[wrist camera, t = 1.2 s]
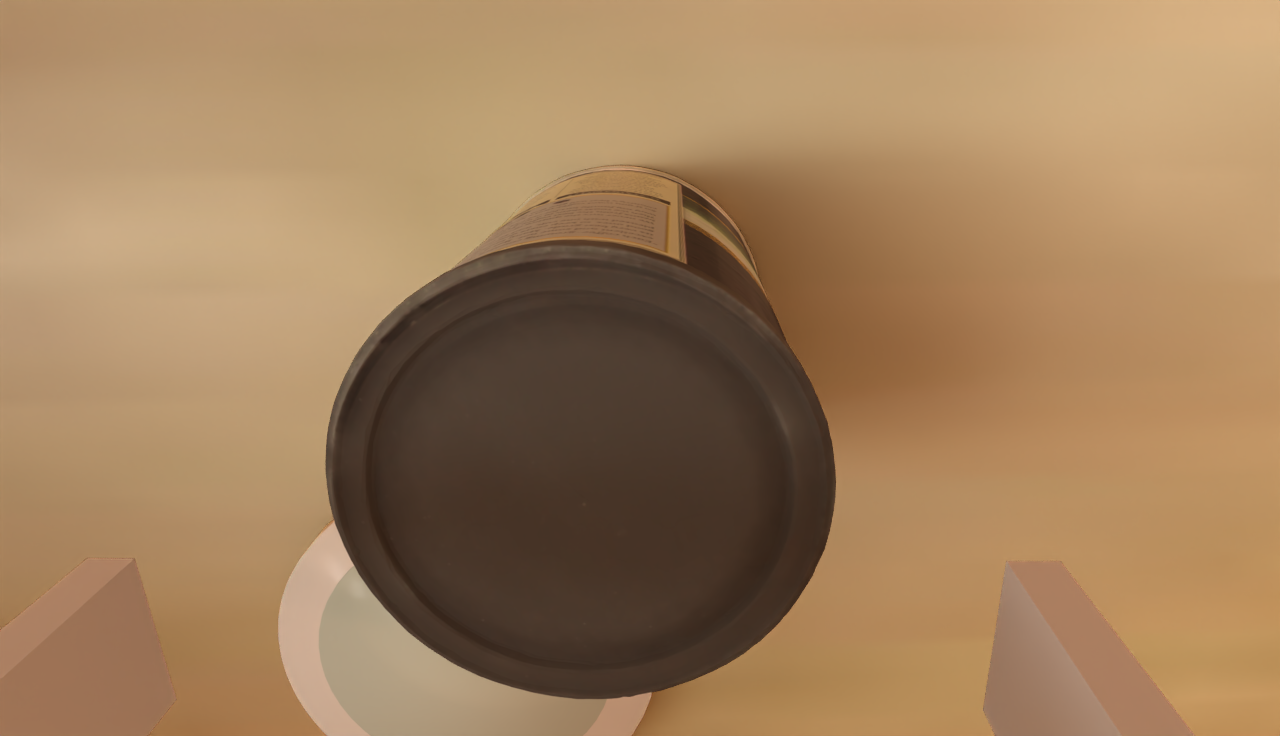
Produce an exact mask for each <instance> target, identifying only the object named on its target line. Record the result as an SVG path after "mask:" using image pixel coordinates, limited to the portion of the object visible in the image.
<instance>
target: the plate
mask: <svg viewBox="0 0 1280 736" xmlns="http://www.w3.org/2000/svg"><path fill="white" fill-rule="evenodd" d="M278 640H279V646H280V653H281V659H282V662H283V665H284V668H285V671H286V675H287V678H288V680H289V682H290V684H291V686H292V688H293V690H294V692H295V695H296V697H297V698H298V700H299V701H300V703H301V704H302V706H303V707H304V709H305V710H306V712H307V713H308V715H309V716H310V717H311V718H312V720H313V721H314V722H315V723H316V724H317V726H318V727H319V728H320V729H321V730H322V731H323V732H324V733H325V734H326V735H327V736H631V735H632V734H633V733H634V731H635V730H636V728H637V726H638V724H639V723H640V721H641V719H642V718H643V716H644V714H645V711H646V709H647V706H648V704H649V701H650V699H651V695H652V692H650V693H645V694H640V695H635V696H632V697H621V698H614V699H572V698H563V697H555V696H549V695H543V694H538V693H533V692H529V691H525V690H521V689H517V688H513V687H510V686H507V685H503V684H500V683H497V682H494V681H491V680H488V679H486V678H483V677H480V676H478V675H476V674H474V673H471V672H469V671H467V670H465V669H463V668H461V667H459V666H457V665H455V664H453V663H451V662H450V661H448V660H447V659H445V658H444V657H442V656H440V655H439V654H437V653H436V652H434V651H433V650H431V649H430V648H428V647H427V646H425V645H424V644H423V643H421V642H420V641H419V640H417V639H416V638H415V637H414V636H412V635H411V634H410V633H408V632H407V631H406V630H405V629H404V628H403V627H402V626H401V625H400V624H399V623H398V622H397V621H396V620H395V619H394V618H393V616H392V615H391V614H390V613H389V612H388V611H387V610H386V609H385V608H384V607H383V606H382V604H381V603H380V602H379V601H378V599H377V598H376V597H375V596H374V595H373V594H372V592H371V591H370V590H369V588H368V587H367V585H366V584H365V582H364V581H363V580H362V578H361V577H360V575H359V574H358V572H357V570H356V568H355V566H354V564H353V563H352V561H351V559H350V557H349V555H348V553H347V551H346V549H345V547H344V545H343V542H342V540H341V537H340V535H339V532H338V530H337V527H336V525H335V522H334V519H333V520H332V521H331V522H330V523H329V524H328V525H327V526H326V527H325V528H324V529H323V530H322V531H321V532H320V534H319V535H318V536H317V537H316V539H315V540H314V541H313V543H312V544H311V545H310V546H309V548H308V549H307V550H306V552H305V553H304V554H303V556H302V557H301V558H300V560H299V561H298V563H297V565H296V566H295V568H294V570H293V572H292V574H291V575H290V577H289V579H288V582H287V585H286V587H285V590H284V593H283V596H282V600H281V605H280V611H279V617H278Z"/></svg>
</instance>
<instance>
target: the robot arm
mask: <svg viewBox="0 0 1280 736" xmlns="http://www.w3.org/2000/svg"><path fill="white" fill-rule="evenodd" d="M176 700H177V699H176V696H175V692H174V689H173V686H172V682H171V679H170V676H169V672H168V669H167V665H166V662H165V659H164V655H163V652H162V649H161V645H160V642H159V639H158V635H157V632H156V629H155V625H154V622H153V618H152V615H151V612H150V608H149V605H148V602H147V598H146V595H145V592H144V588H143V585H142V581H141V578H140V575H139V571H138V568H137V565H136V561H135V558H87V559H85V560H84V561H83V562H82V563H81V564H79V565H78V566H77V567H76V568H75V569H73V570H72V571H71V572H70V573H69V574H67V575H66V576H65V577H64V578H63V579H61V580H60V581H59V582H58V583H57V584H55V585H54V586H53V587H52V588H50V589H49V590H48V591H47V592H46V593H44V594H43V595H42V596H41V597H40V598H38V599H37V600H36V601H35V602H34V603H32V604H31V605H30V606H29V607H28V608H26V609H25V610H24V611H23V612H22V613H20V614H19V615H18V616H17V617H15V618H14V619H13V620H12V621H11V622H9V623H8V624H7V625H6V626H5V627H3V628H2V629H1V630H0V736H148V735H149V734H150V732H151V731H152V730H153V728H154V727H155V726H156V725H157V723H158V722H159V721H160V720H161V718H162V717H163V716H164V715H165V713H166V712H167V711H168V710H169V708H170V707H171V706H172V705H173V703H174V702H175V701H176ZM983 711H984V713H985V715H986V717H987V719H988V722H989V724H990V726H991V728H992V730H993V732H994V734H995V736H1195V735H1194V734H1193V732H1192V731H1191V730H1190V728H1189V727H1188V726H1187V725H1186V723H1185V722H1184V721H1183V719H1182V718H1181V717H1180V716H1179V714H1178V713H1177V712H1176V710H1175V709H1174V708H1173V706H1172V705H1171V704H1170V703H1169V701H1168V700H1167V699H1166V697H1165V696H1164V695H1163V693H1162V692H1161V691H1160V690H1159V688H1158V687H1157V686H1156V684H1155V683H1154V682H1153V680H1152V679H1151V678H1150V677H1149V675H1148V674H1147V673H1146V671H1145V670H1144V669H1143V667H1142V666H1141V665H1140V664H1139V662H1138V661H1137V660H1136V658H1135V657H1134V656H1133V654H1132V653H1131V652H1130V651H1129V649H1128V648H1127V647H1126V645H1125V644H1124V643H1123V641H1122V640H1121V639H1120V638H1119V636H1118V635H1117V634H1116V632H1115V631H1114V630H1113V628H1112V627H1111V626H1110V625H1109V623H1108V622H1107V621H1106V619H1105V618H1104V617H1103V615H1102V614H1101V613H1100V612H1099V610H1098V609H1097V608H1096V606H1095V605H1094V604H1093V603H1092V601H1091V600H1090V599H1089V597H1088V596H1087V595H1086V593H1085V592H1084V591H1083V590H1082V588H1081V587H1080V586H1079V584H1078V583H1077V582H1076V580H1075V579H1074V578H1073V577H1072V575H1071V574H1070V573H1069V571H1068V570H1067V569H1066V567H1065V566H1064V565H1063V564H1062V562H1061V561H1006V566H1005V573H1004V579H1003V585H1002V592H1001V598H1000V604H999V611H998V617H997V624H996V630H995V636H994V643H993V649H992V655H991V662H990V668H989V674H988V681H987V687H986V693H985V700H984V706H983Z"/></svg>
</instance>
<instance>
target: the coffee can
mask: <svg viewBox="0 0 1280 736" xmlns="http://www.w3.org/2000/svg"><path fill="white" fill-rule="evenodd" d="M326 479H327V488H328V495H329V501H330V506H331V510H332V514H333V518H334V522H335V525H336V527H337V530H338V532H339V535H340V537H341V540H342V542H343V545H344V547H345V549H346V551H347V553H348V555H349V557H350V559H351V561H352V563H353V564H354V566H355V568H356V570H357V572H358V574H359V575H360V577H361V578H362V580H363V581H364V582H365V584H366V585H367V587H368V588H369V590H370V591H371V592H372V594H373V595H374V596H375V597H376V598H377V599H378V601H379V602H380V603H381V604H382V606H383V607H384V608H385V609H386V610H387V611H388V612H389V613H390V614H391V615H392V616H393V618H394V619H395V620H396V621H397V622H398V623H399V624H400V625H401V626H402V627H403V628H404V629H405V630H406V631H407V632H408V633H410V634H411V635H412V636H414V637H415V638H416V639H417V640H419V641H420V642H421V643H423V644H424V645H425V646H427V647H428V648H430V649H431V650H433V651H434V652H436V653H437V654H439V655H440V656H442V657H444V658H445V659H447V660H448V661H450V662H451V663H453V664H455V665H457V666H459V667H461V668H463V669H465V670H467V671H469V672H471V673H474V674H476V675H478V676H480V677H483V678H486V679H488V680H491V681H494V682H497V683H500V684H503V685H507V686H510V687H513V688H517V689H521V690H525V691H529V692H533V693H538V694H543V695H549V696H555V697H563V698H572V699H614V698H621V697H632V696H635V695H640V694H645V693H650V692H656V691H661V690H664V689H667V688H670V687H674V686H676V685H679V684H682V683H685V682H688V681H691V680H693V679H696V678H698V677H700V676H703V675H705V674H707V673H710V672H712V671H714V670H716V669H718V668H720V667H722V666H724V665H726V664H728V663H729V662H731V661H732V660H734V659H736V658H737V657H739V656H741V655H742V654H744V653H745V652H746V651H747V650H749V649H750V648H751V647H752V646H754V645H755V644H756V643H758V642H759V641H761V640H762V639H763V638H764V637H765V636H766V635H767V634H768V633H769V632H770V631H771V630H772V629H773V628H774V627H775V626H776V625H777V624H778V623H779V622H780V621H781V620H782V618H783V617H784V616H785V615H786V614H787V613H788V612H789V610H790V609H791V608H792V606H793V605H794V603H795V602H796V601H797V599H798V598H799V596H800V595H801V593H802V591H803V590H804V588H805V587H806V585H807V584H808V582H809V580H810V579H811V577H812V576H813V573H814V571H815V568H816V566H817V564H818V562H819V560H820V558H821V556H822V553H823V551H824V549H825V546H826V542H827V539H828V535H829V532H830V527H831V522H832V517H833V511H834V503H835V490H836V476H835V464H834V454H833V447H832V441H831V437H830V433H829V428H828V423H827V420H826V418H825V415H824V412H823V410H822V407H821V405H820V402H819V400H818V397H817V395H816V393H815V391H814V388H813V386H812V384H811V382H810V380H809V378H808V377H807V375H806V373H805V371H804V369H803V367H802V365H801V364H800V362H799V361H798V359H797V358H796V356H795V354H794V353H793V351H792V350H791V348H790V347H789V345H788V344H787V342H786V339H785V337H784V334H783V332H782V330H781V327H780V325H779V323H778V320H777V318H776V316H775V314H774V312H773V309H772V307H771V305H770V302H769V300H768V298H767V295H766V293H765V291H764V288H763V286H762V283H761V281H760V279H759V276H758V272H757V268H756V264H755V261H754V259H753V256H752V254H751V251H750V249H749V247H748V245H747V243H746V241H745V239H744V237H743V235H742V234H741V232H740V230H739V229H738V227H737V226H736V224H735V223H734V222H733V221H732V219H731V218H730V217H729V216H728V215H727V214H726V212H725V211H724V210H723V209H722V208H721V207H720V206H719V205H718V204H717V203H716V202H715V201H714V200H712V199H711V198H710V197H708V196H707V195H706V194H704V193H703V192H702V191H700V190H699V189H697V188H696V187H694V186H692V185H691V184H689V183H687V182H685V181H683V180H682V179H680V178H678V177H675V176H673V175H670V174H667V173H664V172H661V171H657V170H653V169H648V168H643V167H636V166H605V167H596V168H591V169H586V170H582V171H579V172H575V173H572V174H568V175H566V176H563V177H561V178H559V179H557V180H555V181H553V182H552V183H550V184H548V185H547V186H545V187H543V188H542V189H540V190H539V191H537V192H536V193H535V194H533V195H532V196H531V197H530V198H528V199H527V200H526V201H525V202H524V203H523V204H522V205H521V206H520V207H519V208H518V209H517V210H516V211H515V212H514V213H513V214H512V216H511V217H510V218H509V219H508V220H507V221H506V222H505V223H504V224H503V225H502V226H501V227H499V228H498V229H497V230H495V231H494V232H493V233H492V234H491V235H490V236H489V237H488V238H487V239H486V240H485V241H484V242H482V243H481V244H480V245H479V246H478V247H477V248H476V249H474V250H473V251H472V252H471V253H470V254H469V255H467V256H466V257H465V258H464V259H463V260H462V261H460V262H459V263H458V264H457V265H456V266H455V267H453V268H452V269H451V270H450V271H448V272H446V273H444V274H442V275H441V276H439V277H437V278H436V279H434V280H433V281H431V282H430V283H428V284H427V285H425V286H424V287H422V288H421V289H419V290H418V291H416V292H415V293H414V294H412V295H411V296H409V297H408V298H407V299H405V300H404V301H403V302H402V303H401V304H400V305H398V306H397V307H396V308H395V309H394V310H393V311H392V312H391V313H390V314H389V315H388V316H387V317H386V318H385V319H384V320H383V321H382V322H381V323H380V324H379V325H378V326H377V328H376V329H375V330H374V331H373V333H372V334H371V335H370V337H369V338H368V339H367V341H366V342H365V343H364V345H363V346H362V347H361V349H360V350H359V352H358V353H357V355H356V356H355V358H354V360H353V362H352V364H351V366H350V368H349V370H348V371H347V373H346V375H345V377H344V379H343V382H342V384H341V386H340V389H339V391H338V394H337V396H336V399H335V402H334V405H333V409H332V413H331V417H330V422H329V427H328V434H327V444H326Z"/></svg>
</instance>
